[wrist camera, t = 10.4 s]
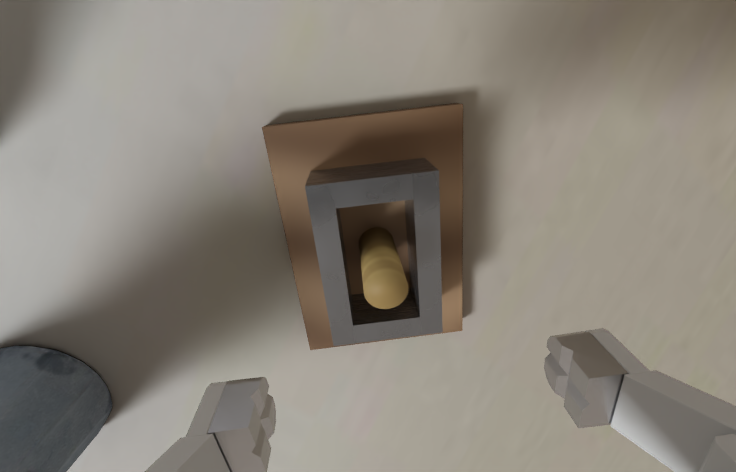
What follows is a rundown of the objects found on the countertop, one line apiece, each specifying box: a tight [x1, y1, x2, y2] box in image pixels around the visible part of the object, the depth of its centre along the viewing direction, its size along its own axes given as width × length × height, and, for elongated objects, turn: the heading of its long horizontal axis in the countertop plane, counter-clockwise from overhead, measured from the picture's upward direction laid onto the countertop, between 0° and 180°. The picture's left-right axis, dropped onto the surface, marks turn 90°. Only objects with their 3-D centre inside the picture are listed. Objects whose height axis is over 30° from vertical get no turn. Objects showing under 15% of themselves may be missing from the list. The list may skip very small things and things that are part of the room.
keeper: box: [262, 103, 463, 350], centre depth 18 cm, size 14×10×6 cm
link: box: [305, 158, 443, 346], centre depth 19 cm, size 9×6×3 cm, turn 6°
